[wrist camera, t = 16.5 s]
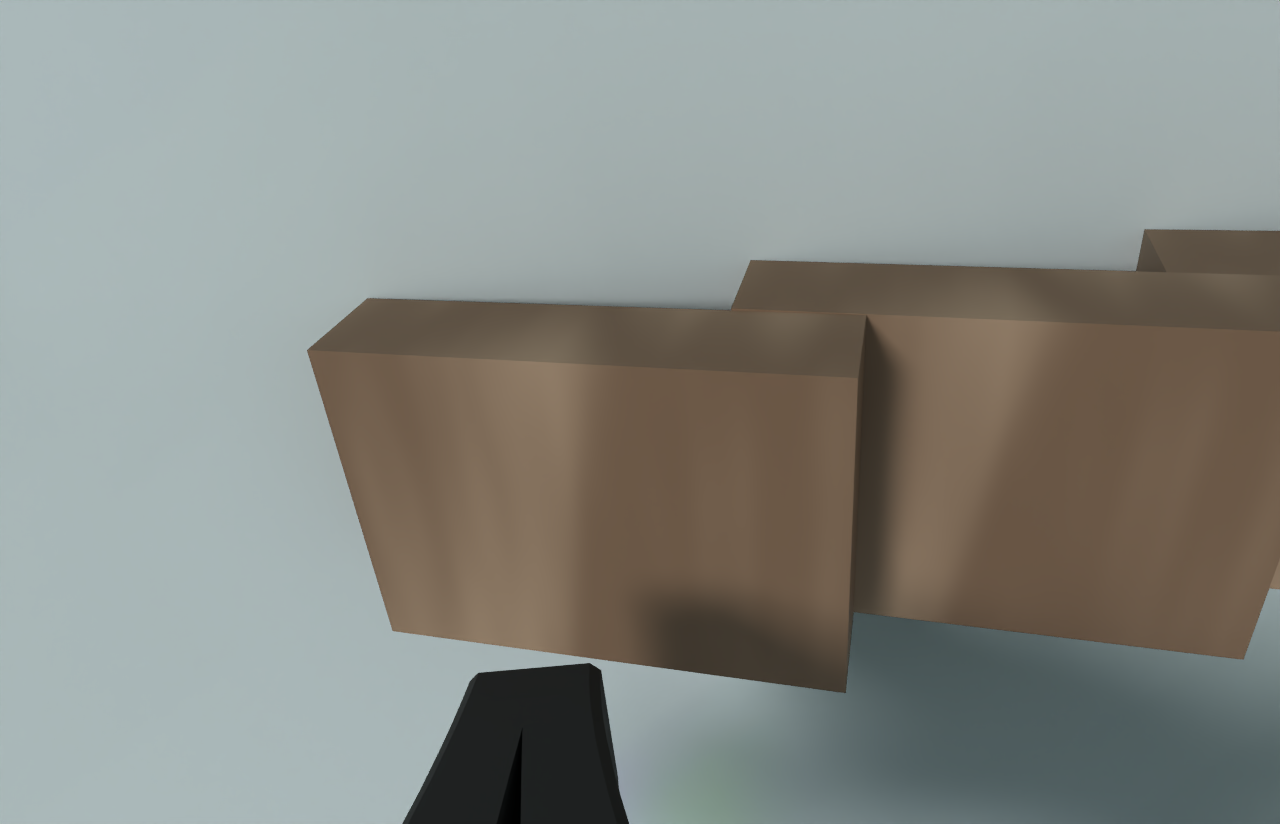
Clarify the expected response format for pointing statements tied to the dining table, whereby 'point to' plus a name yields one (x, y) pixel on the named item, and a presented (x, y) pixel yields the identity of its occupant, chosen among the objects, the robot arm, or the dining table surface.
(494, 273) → the dining table surface
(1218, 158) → the dining table surface
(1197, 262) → the domino
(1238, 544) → the domino
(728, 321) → the domino
